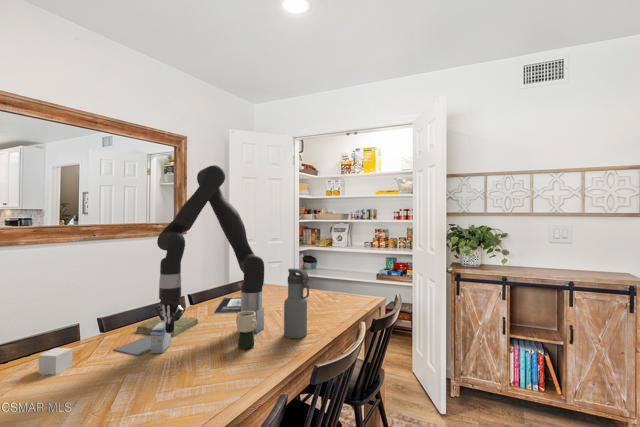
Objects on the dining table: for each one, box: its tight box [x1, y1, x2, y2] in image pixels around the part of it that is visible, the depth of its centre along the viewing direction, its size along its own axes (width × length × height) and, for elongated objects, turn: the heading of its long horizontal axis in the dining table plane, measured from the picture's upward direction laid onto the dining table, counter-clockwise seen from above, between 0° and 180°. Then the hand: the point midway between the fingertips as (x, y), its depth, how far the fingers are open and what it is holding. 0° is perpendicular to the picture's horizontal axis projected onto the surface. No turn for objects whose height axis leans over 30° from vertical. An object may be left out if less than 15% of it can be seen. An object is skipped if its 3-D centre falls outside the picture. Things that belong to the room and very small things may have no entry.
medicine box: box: [150, 322, 172, 354], centre depth 123 cm, size 8×4×9 cm, turn 5°
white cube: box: [38, 347, 73, 376], centre depth 107 cm, size 6×6×6 cm
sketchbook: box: [213, 296, 241, 314], centre depth 186 cm, size 22×30×2 cm
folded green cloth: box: [135, 316, 199, 338], centre depth 147 cm, size 19×20×4 cm
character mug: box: [235, 311, 257, 349], centre depth 126 cm, size 11×7×13 cm, turn 56°
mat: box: [113, 335, 151, 357], centre depth 127 cm, size 13×15×1 cm
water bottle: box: [283, 267, 310, 340], centre depth 140 cm, size 10×10×28 cm
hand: (169, 332), depth 121 cm, fingers closed
